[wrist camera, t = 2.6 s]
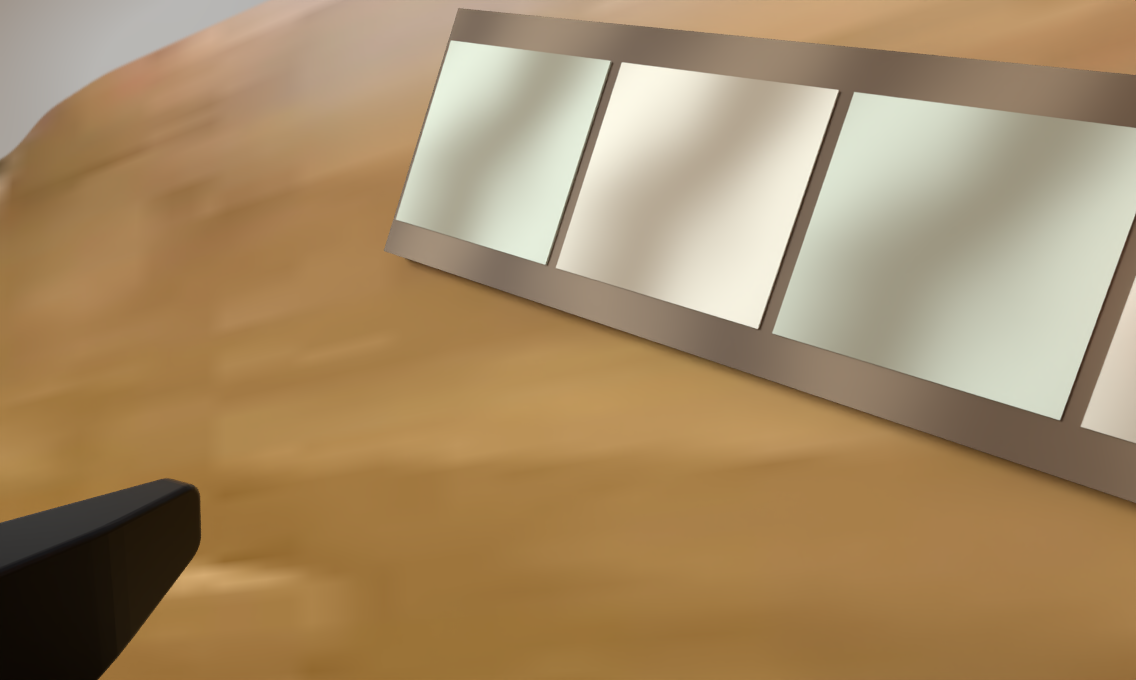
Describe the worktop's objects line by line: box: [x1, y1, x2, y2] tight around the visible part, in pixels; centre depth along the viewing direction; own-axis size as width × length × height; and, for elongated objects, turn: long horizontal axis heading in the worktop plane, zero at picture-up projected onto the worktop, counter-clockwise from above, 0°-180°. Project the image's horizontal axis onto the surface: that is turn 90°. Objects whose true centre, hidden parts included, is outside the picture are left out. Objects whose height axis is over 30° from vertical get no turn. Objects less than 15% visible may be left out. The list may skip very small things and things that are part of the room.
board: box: [384, 8, 1136, 503], centre depth 19 cm, size 28×9×1 cm, turn 70°
